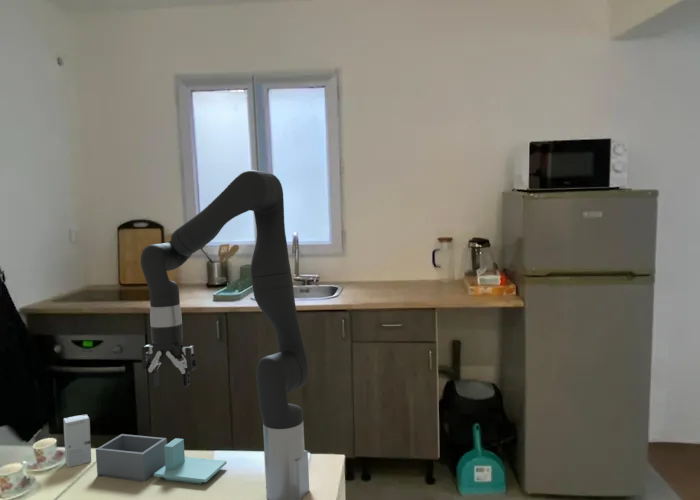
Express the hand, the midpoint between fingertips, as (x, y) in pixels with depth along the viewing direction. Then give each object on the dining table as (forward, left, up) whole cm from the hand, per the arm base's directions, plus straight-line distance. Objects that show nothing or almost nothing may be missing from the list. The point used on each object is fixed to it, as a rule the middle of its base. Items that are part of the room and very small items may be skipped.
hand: (170, 386), depth 146 cm
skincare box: (+30, 0, -23) cm, 38 cm away
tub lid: (-4, 0, -22) cm, 23 cm away
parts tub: (+12, +1, -22) cm, 25 cm away
